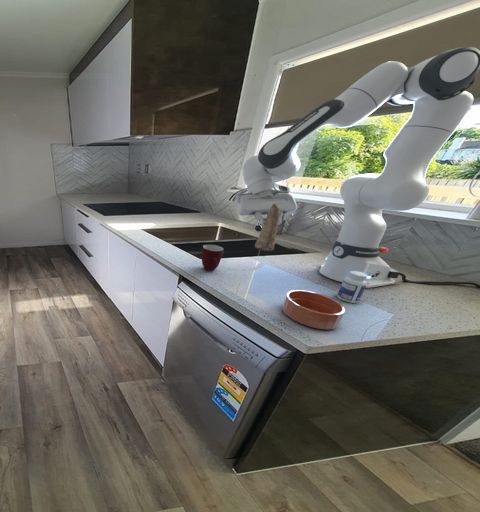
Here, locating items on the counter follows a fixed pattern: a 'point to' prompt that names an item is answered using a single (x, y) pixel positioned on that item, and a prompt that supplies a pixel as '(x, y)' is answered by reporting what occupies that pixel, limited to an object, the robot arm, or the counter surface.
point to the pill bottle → (352, 287)
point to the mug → (211, 256)
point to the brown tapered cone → (269, 230)
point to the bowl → (313, 309)
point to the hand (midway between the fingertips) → (271, 223)
